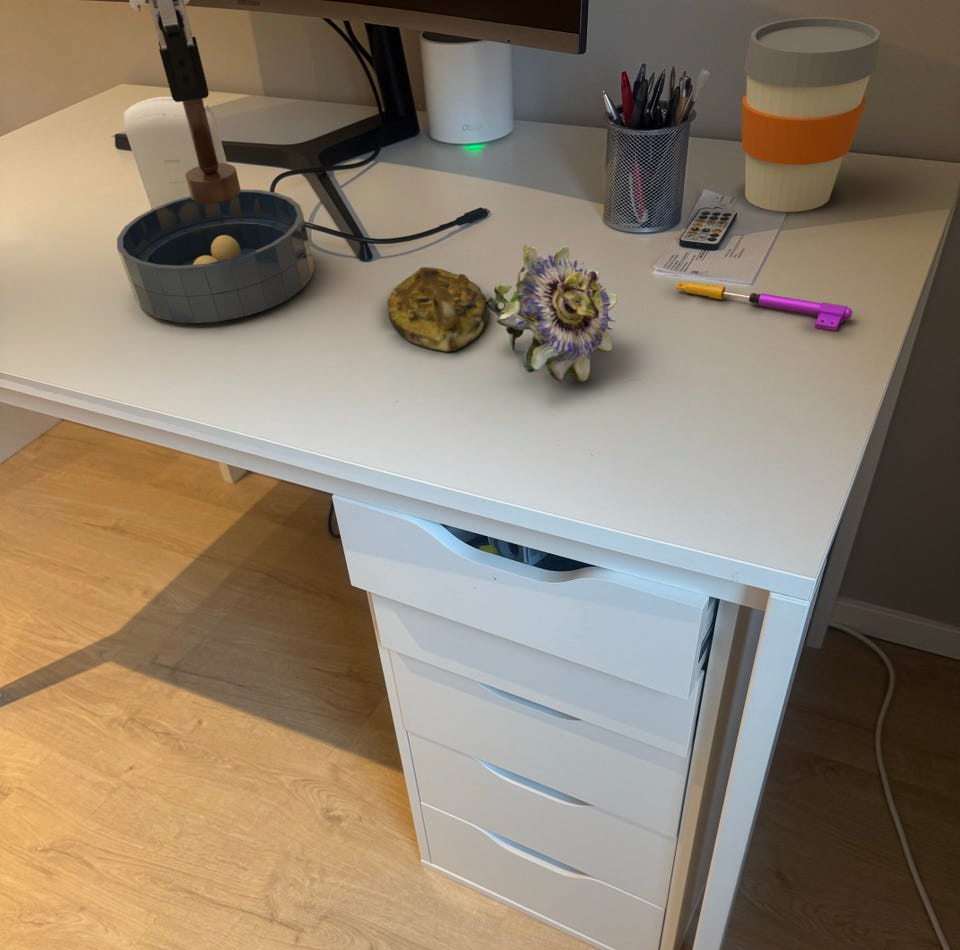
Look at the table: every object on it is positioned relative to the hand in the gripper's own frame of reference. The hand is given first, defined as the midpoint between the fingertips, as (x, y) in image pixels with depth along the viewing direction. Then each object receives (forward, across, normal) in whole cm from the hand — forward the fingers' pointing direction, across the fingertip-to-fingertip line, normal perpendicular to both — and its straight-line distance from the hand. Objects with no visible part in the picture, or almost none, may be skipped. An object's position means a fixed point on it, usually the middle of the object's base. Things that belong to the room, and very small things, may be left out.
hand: (190, 93), depth 81 cm
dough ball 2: (+15, -3, -1) cm, 15 cm away
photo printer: (+18, -19, -3) cm, 26 cm away
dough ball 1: (+15, +2, -3) cm, 16 cm away
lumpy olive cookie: (+17, +16, +18) cm, 29 cm away
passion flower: (+17, +28, +25) cm, 41 cm away
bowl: (+17, +1, -1) cm, 17 cm away
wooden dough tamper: (+9, 0, 0) cm, 9 cm away
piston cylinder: (+17, +26, +45) cm, 55 cm away
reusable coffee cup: (+17, +4, +60) cm, 62 cm away
